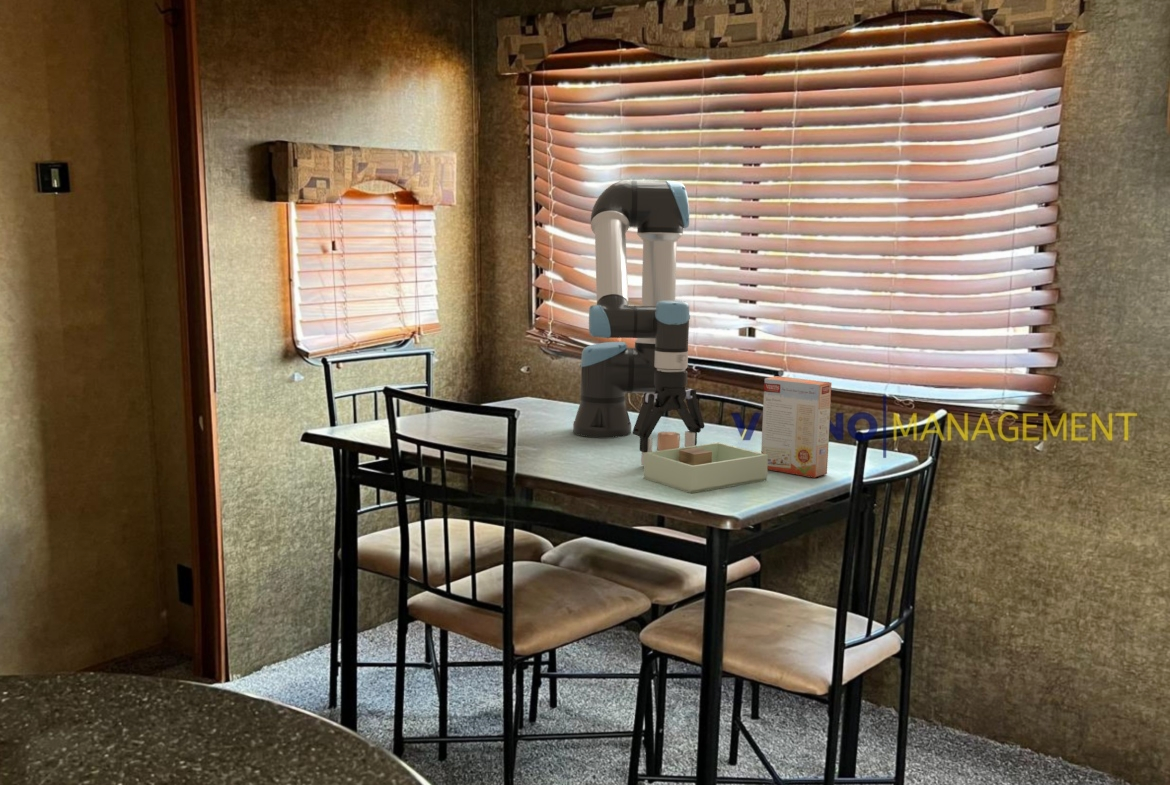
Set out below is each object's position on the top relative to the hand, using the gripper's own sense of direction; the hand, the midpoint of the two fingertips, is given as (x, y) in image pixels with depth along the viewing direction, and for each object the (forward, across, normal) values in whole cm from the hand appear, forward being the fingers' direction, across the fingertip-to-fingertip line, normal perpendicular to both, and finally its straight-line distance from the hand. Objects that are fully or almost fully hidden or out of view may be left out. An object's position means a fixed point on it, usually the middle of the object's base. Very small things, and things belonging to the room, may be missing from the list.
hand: (668, 462), depth 256 cm
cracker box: (+1, +19, -21) cm, 28 cm away
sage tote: (0, -3, -16) cm, 16 cm away
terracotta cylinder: (0, 0, 0) cm, 0 cm away
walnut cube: (0, -3, -12) cm, 13 cm away
